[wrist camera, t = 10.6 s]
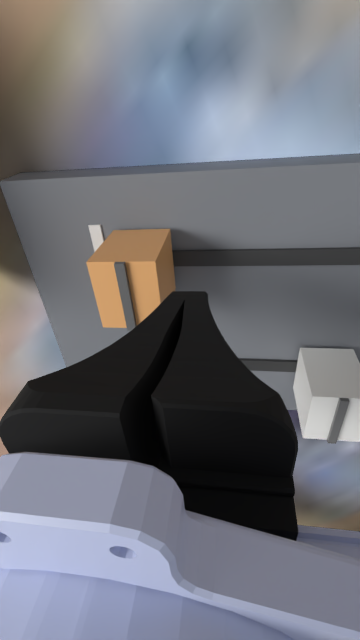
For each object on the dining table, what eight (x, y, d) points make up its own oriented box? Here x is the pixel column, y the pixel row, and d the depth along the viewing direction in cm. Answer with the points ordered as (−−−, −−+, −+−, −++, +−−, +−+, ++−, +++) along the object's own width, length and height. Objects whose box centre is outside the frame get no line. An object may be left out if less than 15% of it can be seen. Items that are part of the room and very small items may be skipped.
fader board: (408, 393, 22) (423, 419, 20) (87, 378, 26) (76, 399, 24) (524, 144, 14) (567, 152, 12) (20, 172, 17) (-4, 182, 15)
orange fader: (175, 288, 17) (163, 331, 14) (124, 287, 18) (101, 329, 15) (170, 228, 15) (154, 263, 12) (113, 230, 16) (84, 264, 13)
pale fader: (341, 389, 20) (360, 445, 17) (293, 387, 20) (303, 441, 17) (353, 349, 18) (377, 402, 15) (299, 347, 18) (313, 399, 15)
